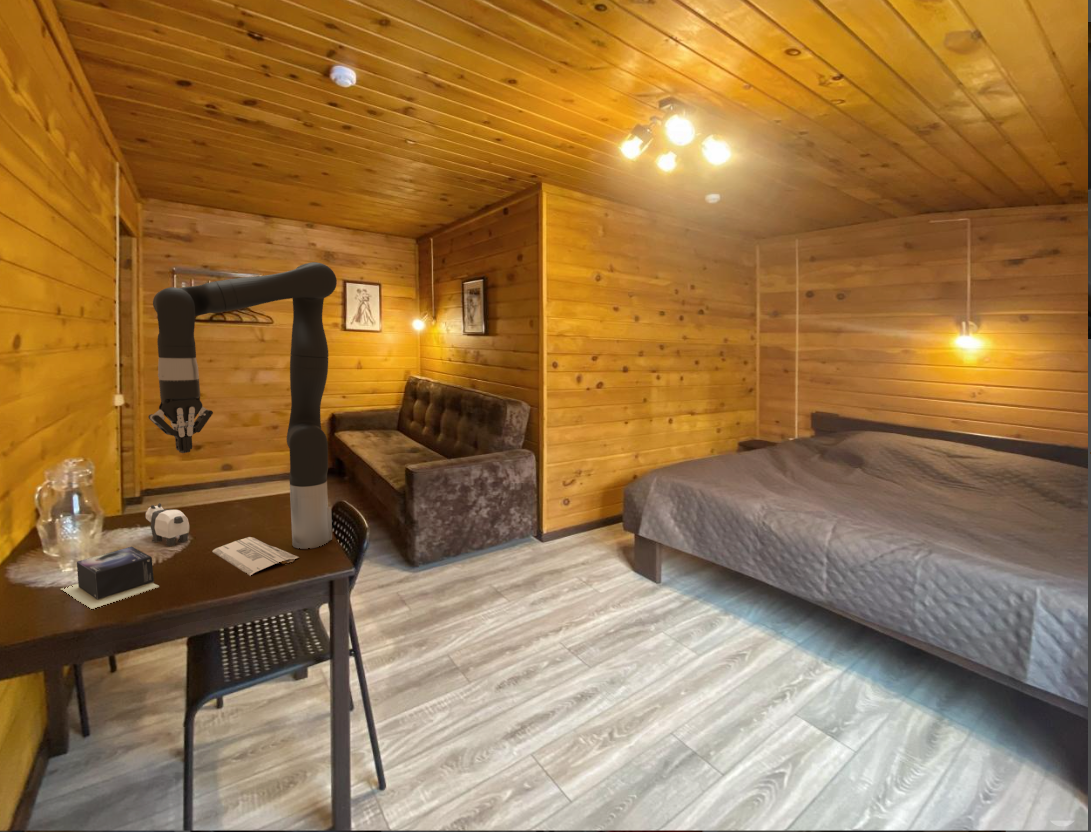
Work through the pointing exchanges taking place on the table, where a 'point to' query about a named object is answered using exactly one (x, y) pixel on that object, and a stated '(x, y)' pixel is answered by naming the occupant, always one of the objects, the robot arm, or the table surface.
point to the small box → (114, 572)
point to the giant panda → (167, 524)
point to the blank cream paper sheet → (94, 603)
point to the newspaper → (252, 555)
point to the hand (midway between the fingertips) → (184, 452)
